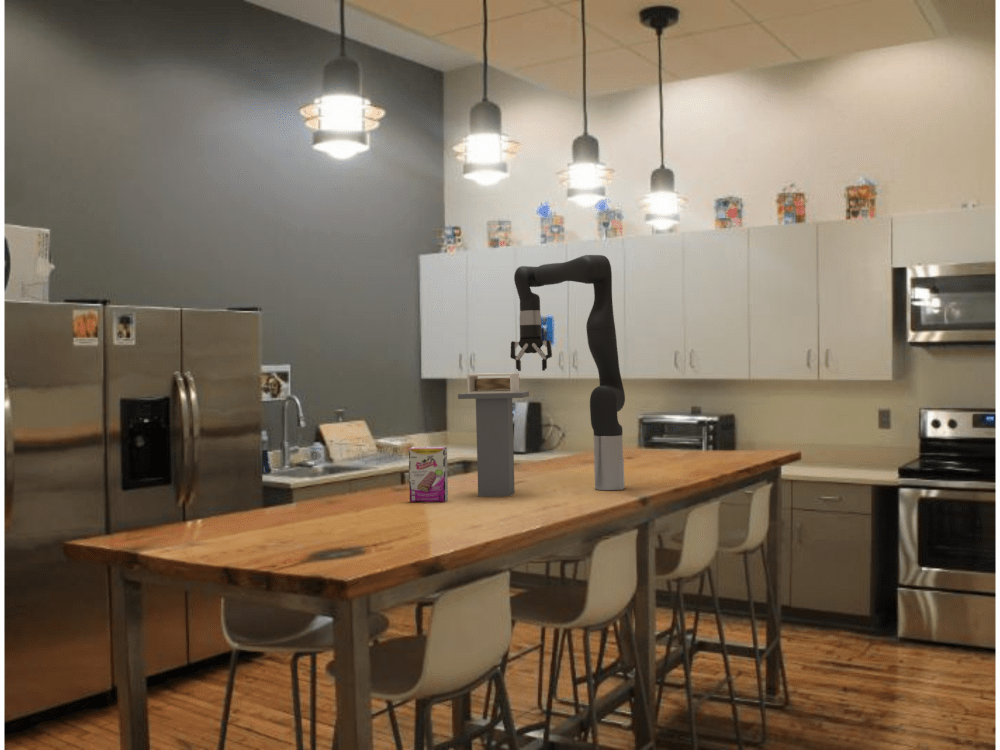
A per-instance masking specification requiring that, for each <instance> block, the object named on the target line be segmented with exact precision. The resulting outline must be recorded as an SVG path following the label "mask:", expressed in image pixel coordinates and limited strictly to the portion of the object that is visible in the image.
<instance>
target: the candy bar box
mask: <svg viewBox="0 0 1000 750" xmlns="http://www.w3.org/2000/svg"><path fill="white" fill-rule="evenodd" d="M408 466H409V467H408V471H409V473H408V477H409V480H408V481H409V502H410V503H445V502H447V501H448V499H449V491H448V489H449V488H448V486H449V485H448V483H449V479H448V447H447V446H412V447H409V448H408Z"/></svg>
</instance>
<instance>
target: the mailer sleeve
mask: <svg viewBox="0 0 1000 750" xmlns="http://www.w3.org/2000/svg"><path fill="white" fill-rule="evenodd" d="M497 376H498V377H499V376H500V377H501V376H503V377H504V376H509V378H510V389H506V390H476V379H479V377H497ZM466 377H467V393H468V394H491V393H515V392H520V388H519V378H520V373H519V372H493V373H492V372H490V373H486V372H485V373H468V374H467V375H466Z"/></svg>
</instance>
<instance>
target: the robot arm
mask: <svg viewBox="0 0 1000 750" xmlns="http://www.w3.org/2000/svg"><path fill="white" fill-rule="evenodd" d="M611 265H612V264H611V262H610V260H609V259H608V257H607V256H605V255H603V254H584V255H582V256H579V257H576V258H574V259H571V260H568V261H565V262H556V263H554V262H553V263H546V264H542V265H541V264H540V265H539V266H527V265H522V266H519V267H517V268H516V270H515V272H514V278H513V281H514V284H515V289H516V292H517V295H518V298H519V341H514V340H512V341H511V342H510V356H509V357H510V358H511V359H513V360H515V369H516V370H517V371H518V372H521V371H522V360H521V359H522V357H524V355H525V354H538V355H539V356H540V357H541V358H542V360H541V370H542V371H546V370H547V368H548V362H547V360H548V359H551V358H552V357H553V352H552V351H553V350H552V342H551V340H550V339H549V340H543V337H542V324H543V323H542V315H541V314H542V313H541V299H540V295H539V294H537V293H534V292H532V289H531V288H539V287H544V286H550V285H557V284H562V283H563V282H575V283H582V284H585V285H586V284H587V285H588V284H589V285H593V293H594V294H593V295H594V297H593V298H594V299H593V304H592V308H591V309H590V312H589V315H588V318H587V321H586V336H587V337H586V338H587V345H588V348H589V352H590V353H591V357H592V358H593V360H594V363H595V366H596V368H597V371H598V380H599V381H598V382H599V385H598V386H596V387H595V388H594V389H593V390H592V391H591V393H590V396H589V397H590V398H589V412H590V413H589V414H590V425H591V428H592V430H593V459H594V489H596V490H598V491H599V490H600V491H617V490H618V491H619V490H620V491H621V490H624V489H625V459H624V447H623V445H624V444H623V443H624V442H623V441H624V439H623V437H624V436H623V426H622V425H621V424H620V422H619V420H618V419H619V418H618V412H619V411H621V410H622V409H623V408H624V405H625V402H626V395H625V390H624V384H623V381H622V376H621V370H620V363H619V352H618V341H617V332H616V331H617V330H616V323H615V318H614V317H615V316H614V305H613V283H612V281H613V276H612V266H611ZM543 345H544V347H546V353H547V354H545V353H544V351H543V350H542V346H543ZM518 346H519V347H520V351H519V352H518V354H517V355H516V348H517V347H518Z"/></svg>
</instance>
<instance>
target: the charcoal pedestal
mask: <svg viewBox="0 0 1000 750" xmlns="http://www.w3.org/2000/svg"><path fill="white" fill-rule="evenodd" d="M529 396H530V391H529V390H528V391H527V390H526V391H523V390H522V391H519V392H515V393H491V394H468V392H464V393H458V394H457V399H458V400H475V422H476V423H475V425H476V428H475V429H476V460H477V461H476V462H477V465H476V466H477V468H476V469H477V496H478V497H482V498H483V497H484V498H485V496H486V498H488V497H487V496H489V498H490V497H491V498H492V497H493V498H494V497H496V498H497V497H499V498H500V497H501V498H503V496H510V497H511V496H513V495H514V494H515V491H516V490H515V489H516V488H515V457H514V456H515V455H514V452H515V451H514V447H515V446H514V426H513V425H514V413H513V399H522V398H524V399H525V398H528V397H529Z"/></svg>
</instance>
